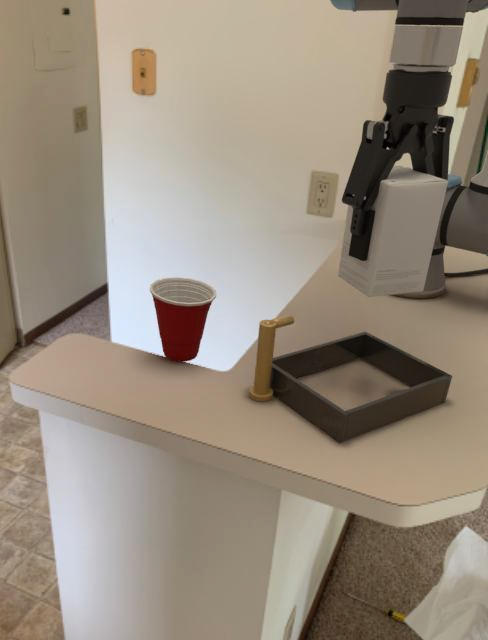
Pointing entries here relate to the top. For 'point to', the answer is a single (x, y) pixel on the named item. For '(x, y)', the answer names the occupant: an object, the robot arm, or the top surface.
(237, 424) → the top surface
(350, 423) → the sink
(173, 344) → the plastic cup
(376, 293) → the rectangular carton
